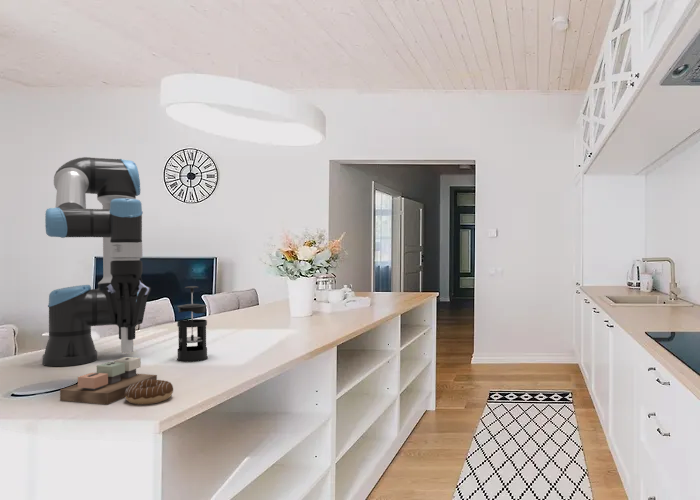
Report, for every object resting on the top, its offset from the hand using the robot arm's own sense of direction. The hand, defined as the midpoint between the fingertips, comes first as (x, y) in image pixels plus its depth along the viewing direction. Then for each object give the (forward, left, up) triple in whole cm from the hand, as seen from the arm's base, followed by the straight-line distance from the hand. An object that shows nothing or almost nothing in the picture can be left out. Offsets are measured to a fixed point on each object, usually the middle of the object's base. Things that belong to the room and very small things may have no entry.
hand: (127, 352), depth 137 cm
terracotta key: (0, -12, -6) cm, 13 cm away
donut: (+13, -9, -9) cm, 18 cm away
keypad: (0, -6, -9) cm, 10 cm away
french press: (-2, +34, -9) cm, 35 cm away
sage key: (0, -6, -4) cm, 7 cm away
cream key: (0, 0, -4) cm, 4 cm away
